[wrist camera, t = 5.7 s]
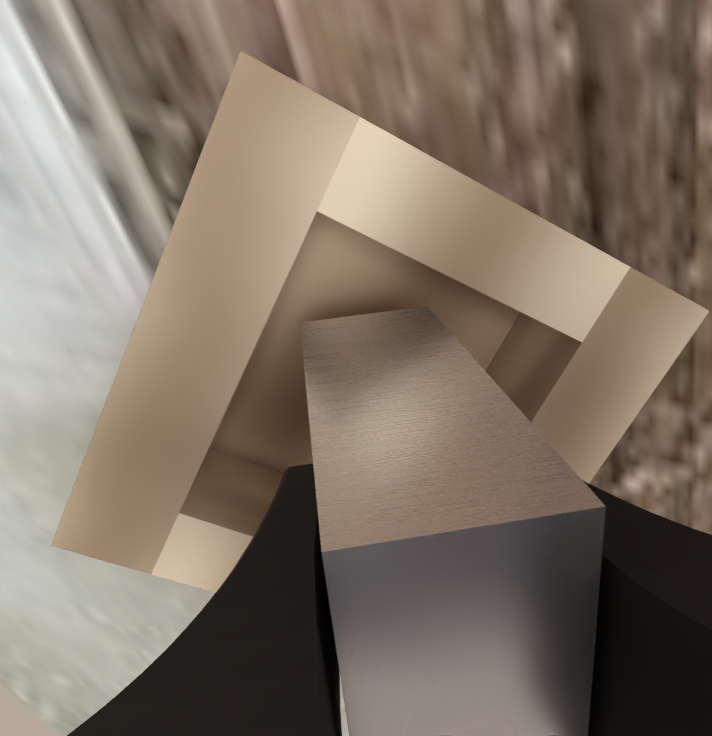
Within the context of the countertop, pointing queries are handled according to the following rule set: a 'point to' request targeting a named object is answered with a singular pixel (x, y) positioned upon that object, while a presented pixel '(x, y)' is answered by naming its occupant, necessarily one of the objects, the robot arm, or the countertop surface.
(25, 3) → the countertop surface
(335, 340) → the brushed grey metal block
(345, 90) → the countertop surface
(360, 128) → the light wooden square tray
